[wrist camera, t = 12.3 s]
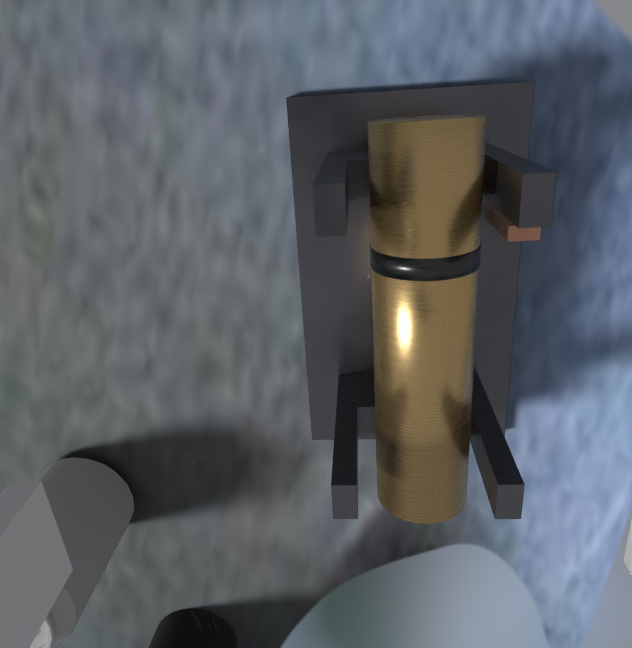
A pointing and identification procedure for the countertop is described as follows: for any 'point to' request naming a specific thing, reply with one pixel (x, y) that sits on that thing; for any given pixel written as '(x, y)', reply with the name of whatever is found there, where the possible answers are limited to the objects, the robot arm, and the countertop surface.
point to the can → (82, 534)
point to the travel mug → (193, 631)
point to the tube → (424, 306)
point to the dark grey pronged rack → (356, 274)
